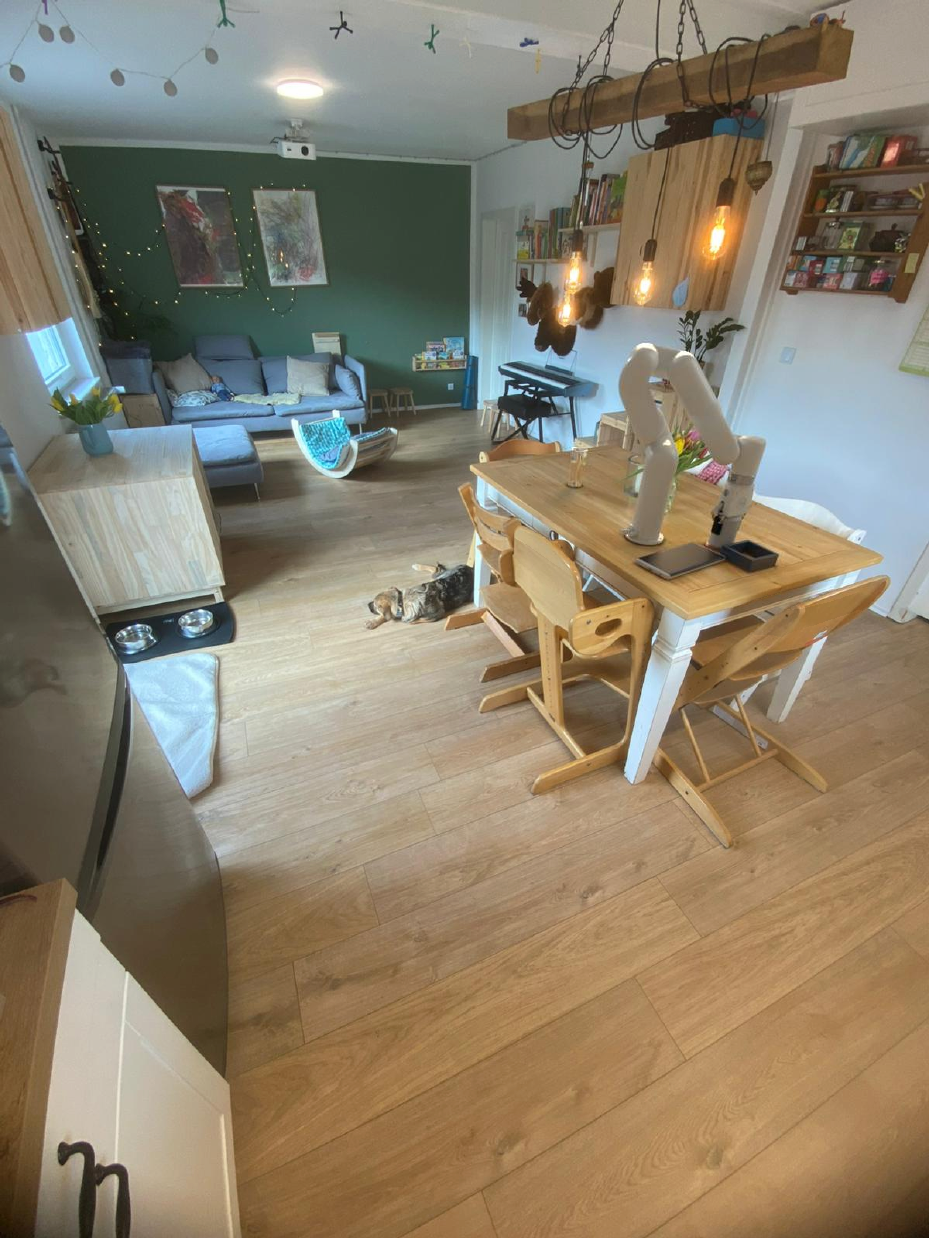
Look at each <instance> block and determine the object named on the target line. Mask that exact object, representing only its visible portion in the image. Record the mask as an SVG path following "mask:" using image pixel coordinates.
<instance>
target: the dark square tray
mask: <svg viewBox="0 0 929 1238" xmlns="http://www.w3.org/2000/svg"><path fill="white" fill-rule="evenodd" d="M744 553H745V554H746V555H745V554H744ZM719 554H721V555H723V556H725V557H726V558H725V560H724V561H725V562H727V563H730V564H732V565H733V566H735V567H737V568H739V569H741V570H743V571H745V572H746V573H753V572H756V571H760V570H764V569H768V568H772V567H775V566H776V564H777V561H778V559H779V557H780V556H779V555H780V553H777V552H775V551H774V550H771V549H769V548H767V547H765V546H763V545H761V544H758V543H756V542H754V541H752V540H749V539H745V540H741V541H736V542H734V543H731V544H727V545H722V548H721V551H720V552H719ZM747 555H749V556H747ZM750 556H751V557H753V558H751V557H750Z"/></svg>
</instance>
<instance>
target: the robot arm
mask: <svg viewBox="0 0 929 1238" xmlns="http://www.w3.org/2000/svg"><path fill="white" fill-rule="evenodd" d="M651 377H653V378H656V379H657V378H658V379H660V380H661V379H662V380H667V381H669V383H670V385H671V387H672V389H673V390H674V392H675V394H676V396H677V398H678V400H679V402H680V404H681V405H682V407H683V409H684V411H685V413H686V415H687V417H688V419H689V420H690V422H691V424H692V425H693V427H694V428H695V429H696V431H697V432H698V434H699V436H700V438H701V440H702V442H703V444H704V445H705V448H706V449H707V452H708V453H709V455H710V457H711V459H712V461H713V462H714V463H715V464H717V465H720V466H728V465H730V468H729V472H728V476H727V478H726V482H725V484H724V485H723V488H722V490H721V492H720V495H719V497H718V501H717V504H716V506H715V507H714V508H713V509H712V510H711V511H710V515H711V518H712V521H713V523H712V526H711V530H710V534H711V533H713V534H715V535H720V532H721V529H722V526H723V524H722V522H723V521H724V519H725V518H726V517H733V516H736V515H740V516H741V518H742V519H741V522H740V525H739V528H738V531H739V529H740V526H741V523H742V520H744V518H745V516H746V514H747V513H748V512H749V510H751V508H752V505H751V503H752V500H753V496H754V490H755V480H756V477H757V474H758V471H759V468H760V465H761V462H762V459H763V457H764V454H765V453H764V452H765V450H766V446H767V440H766V439H765V438H763V437H761V436H757V435H740V434H737V433H734V432H733V431H732V429H731V427H730V426H729V423H728V421H727V419H726V417H725V416H724V413H723V411H722V407H721V406H720V402H719V401H718V398H717V396H716V394H715V393H714V391H713V389H712V386H711V385H710V383H709V381H708V378H707V377H706V375H705V373H704V371H703V369H702V367H701V365H700V364H699V361H698V360H697V358H696V357H695V356H694V355H693V353H691V352H689V351H685V350H680V349H675V348H670V347H666V346H662V345H658V344H652V343H649V342H648V343H647V342H646V343H645V342H644V343H640V344H638V345H636V346H635V347H634V348H633V349H632V350H631V351H630V353H629V355H628V359H627V360H626V362H625V364H624V366H623V367H622V369H621V372H620V374H619V378H618V384H617V385H618V387H617V388H618V393H619V394H618V395H619V397H620V401H621V403H622V406H623V409H624V411H625V413H626V416H627V419H628V421H629V423H630V426H631V429H632V433H633V435H634V437H635V438H636V439H637V440H638V441H639V444H640V446H641V449H642V450H643V453H644V455H645V461H644V466H643V471H642V476H641V479H640V484H639V489H638V494H637V499H636V503H635V508H634V513H633V518H632V522H631V523H629V526H628V527H626V528H623V529H620V530H619V535H620V536H625V538H626V539H627V540H628V541H630V542H632V543H635V544H639V545H645V546H656V545H659V544H662V543H663V542H664V540H665V536H664V535H663V534H662V533H661V530H662V527H663V523H664V518H665V515H666V510H667V506H668V502H669V498H670V493H671V489H672V486H673V482H674V478H675V475H676V473H677V469H678V466H679V452H678V448H677V445H676V442H675V439H674V438H673V434H672V432H671V430H670V427H669V425H668V423H667V420H666V418H665V415H664V413H663V411H662V409H661V408H659V407H658V406H657V404H656V401H655V398H654V395H653V393H652V391H651V387H650V379H651ZM721 512H723V513H721ZM720 515H722V517H721V519H720V518H719V516H720Z"/></svg>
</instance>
